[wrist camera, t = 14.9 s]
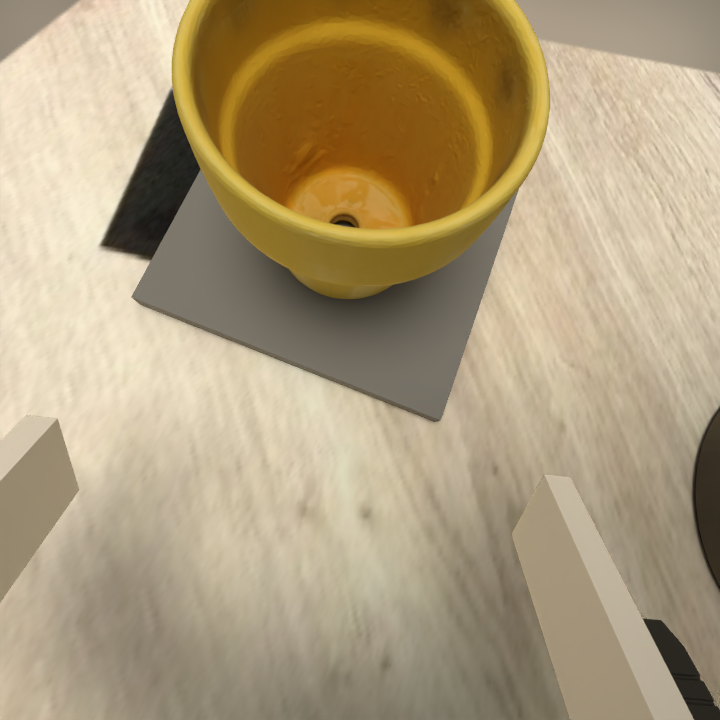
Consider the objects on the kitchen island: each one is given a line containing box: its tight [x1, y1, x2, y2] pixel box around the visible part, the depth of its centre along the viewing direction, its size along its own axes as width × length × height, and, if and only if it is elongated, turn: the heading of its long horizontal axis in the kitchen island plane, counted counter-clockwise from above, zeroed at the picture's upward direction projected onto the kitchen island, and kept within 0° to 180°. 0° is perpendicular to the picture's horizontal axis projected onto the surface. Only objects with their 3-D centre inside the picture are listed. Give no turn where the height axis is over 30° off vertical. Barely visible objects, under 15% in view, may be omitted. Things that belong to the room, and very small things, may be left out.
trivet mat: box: [132, 170, 519, 422], centre depth 22 cm, size 15×13×1 cm
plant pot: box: [172, 0, 550, 299], centre depth 16 cm, size 10×10×10 cm
